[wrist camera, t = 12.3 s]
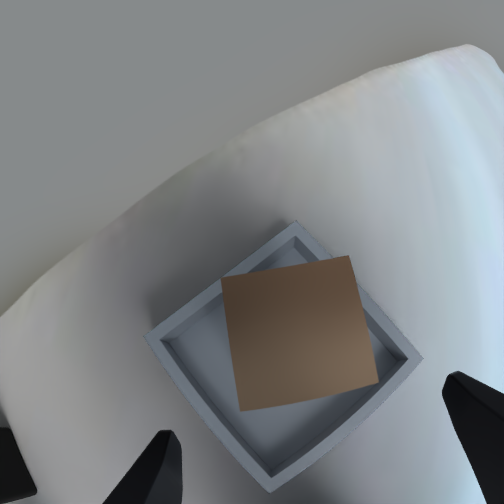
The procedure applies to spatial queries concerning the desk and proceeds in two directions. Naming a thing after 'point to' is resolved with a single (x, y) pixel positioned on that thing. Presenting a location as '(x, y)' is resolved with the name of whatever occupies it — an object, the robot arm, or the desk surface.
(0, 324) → the desk surface
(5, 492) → the battery
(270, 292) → the walnut block
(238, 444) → the tray
